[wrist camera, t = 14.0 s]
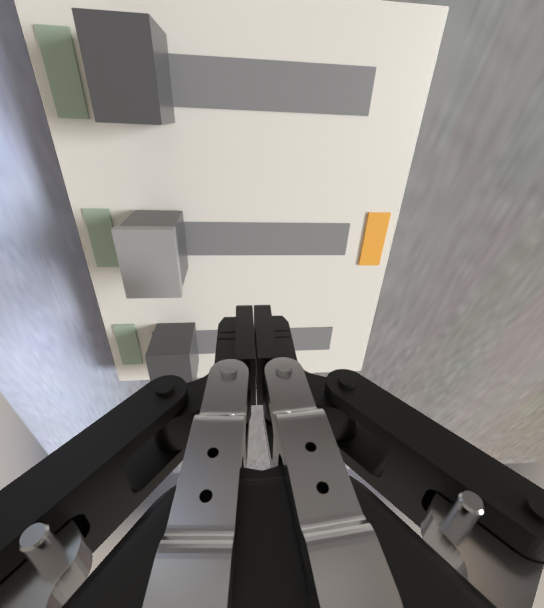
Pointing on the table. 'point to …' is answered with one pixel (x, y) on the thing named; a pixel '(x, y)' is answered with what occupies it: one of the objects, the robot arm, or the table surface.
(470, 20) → the table surface
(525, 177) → the table surface
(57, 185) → the table surface
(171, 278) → the block
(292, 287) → the breaker panel
